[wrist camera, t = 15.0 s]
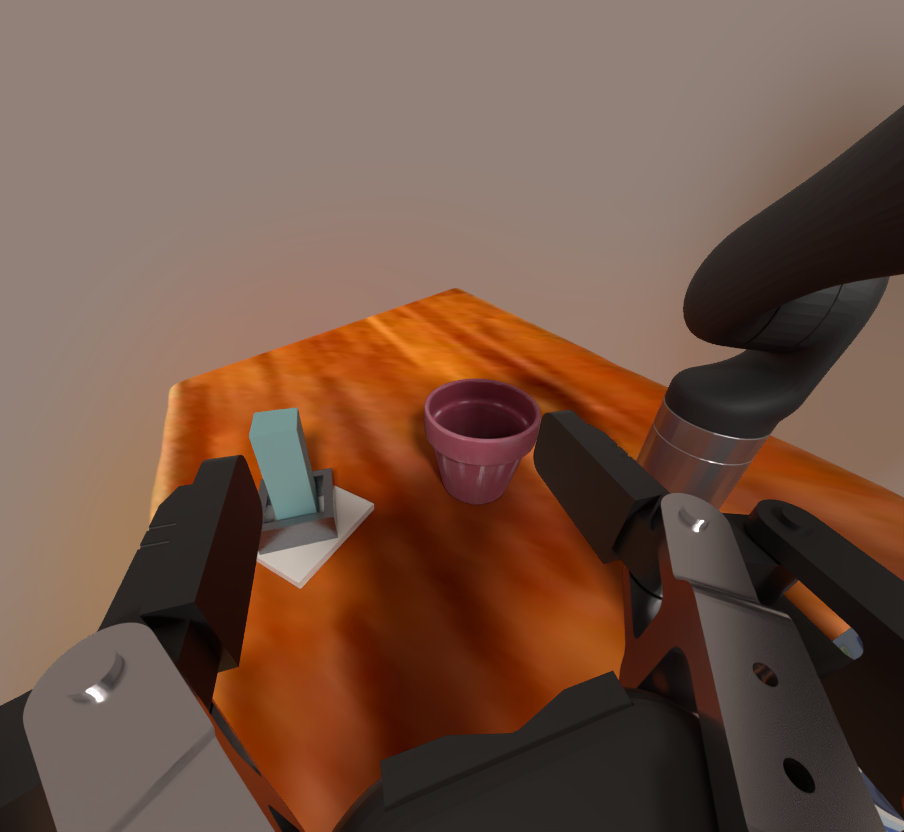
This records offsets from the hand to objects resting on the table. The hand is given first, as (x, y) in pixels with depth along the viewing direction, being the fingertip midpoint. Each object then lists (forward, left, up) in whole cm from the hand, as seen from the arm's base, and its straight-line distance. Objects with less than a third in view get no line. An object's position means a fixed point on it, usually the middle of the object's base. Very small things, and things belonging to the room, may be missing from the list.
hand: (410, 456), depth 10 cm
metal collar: (-11, -23, -28) cm, 38 cm away
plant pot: (-28, -8, -29) cm, 41 cm away
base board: (-11, -23, -29) cm, 38 cm away
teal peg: (-11, -23, -28) cm, 38 cm away
